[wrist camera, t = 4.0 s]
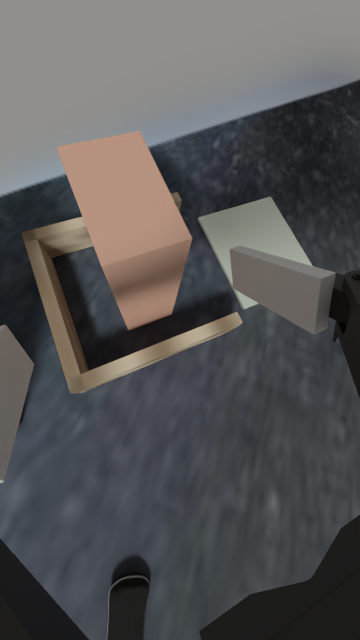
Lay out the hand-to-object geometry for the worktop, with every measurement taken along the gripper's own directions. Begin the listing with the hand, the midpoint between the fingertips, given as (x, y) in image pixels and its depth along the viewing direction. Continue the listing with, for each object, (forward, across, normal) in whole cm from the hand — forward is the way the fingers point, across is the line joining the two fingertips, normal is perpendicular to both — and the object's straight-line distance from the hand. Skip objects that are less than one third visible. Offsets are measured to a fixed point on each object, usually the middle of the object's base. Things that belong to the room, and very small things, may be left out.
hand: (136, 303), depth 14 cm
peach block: (+12, +2, -4) cm, 13 cm away
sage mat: (+12, +18, -4) cm, 22 cm away
